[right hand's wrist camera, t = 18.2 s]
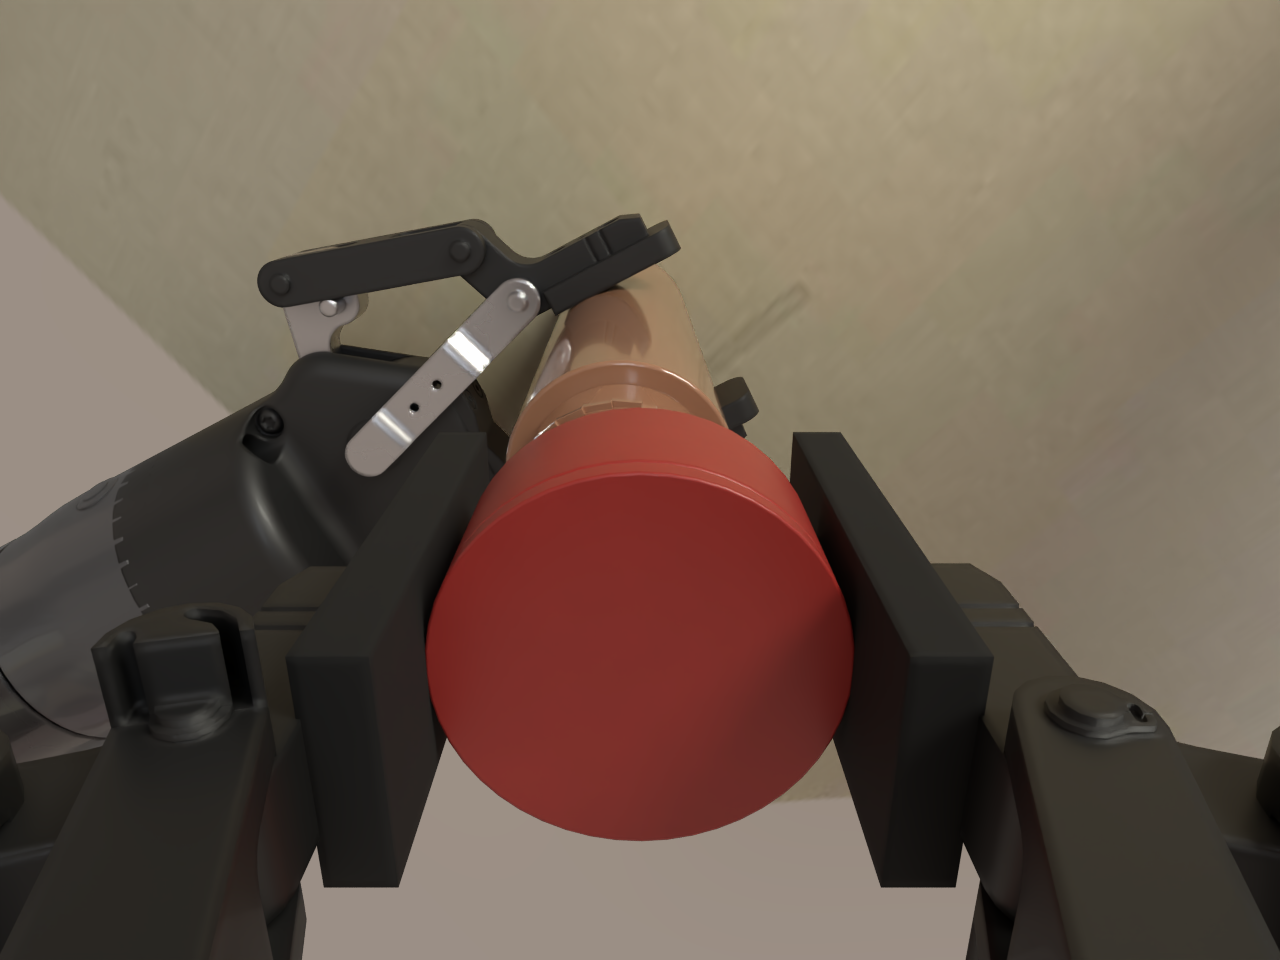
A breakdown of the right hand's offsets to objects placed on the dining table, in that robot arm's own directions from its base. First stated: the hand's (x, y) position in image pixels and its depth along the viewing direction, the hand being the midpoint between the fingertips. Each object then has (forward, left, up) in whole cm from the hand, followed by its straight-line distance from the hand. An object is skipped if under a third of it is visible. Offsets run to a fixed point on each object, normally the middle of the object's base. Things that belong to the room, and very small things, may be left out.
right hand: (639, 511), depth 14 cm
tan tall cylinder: (0, 0, -18) cm, 18 cm away
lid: (0, 0, +4) cm, 4 cm away
